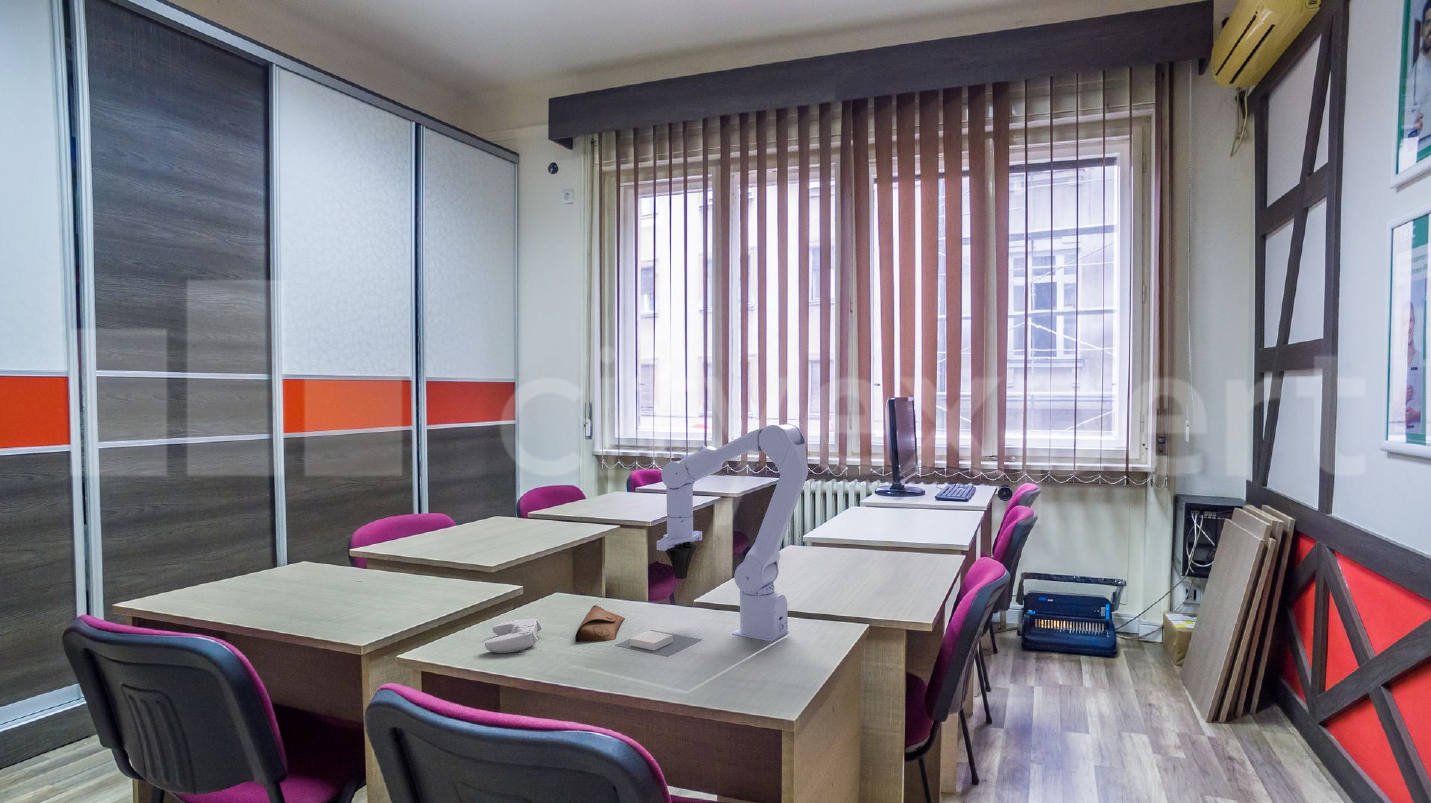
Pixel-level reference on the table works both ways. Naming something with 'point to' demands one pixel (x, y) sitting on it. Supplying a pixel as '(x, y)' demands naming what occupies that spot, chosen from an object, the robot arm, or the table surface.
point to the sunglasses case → (599, 626)
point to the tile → (651, 640)
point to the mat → (675, 646)
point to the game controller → (514, 636)
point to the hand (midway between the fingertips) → (680, 578)
